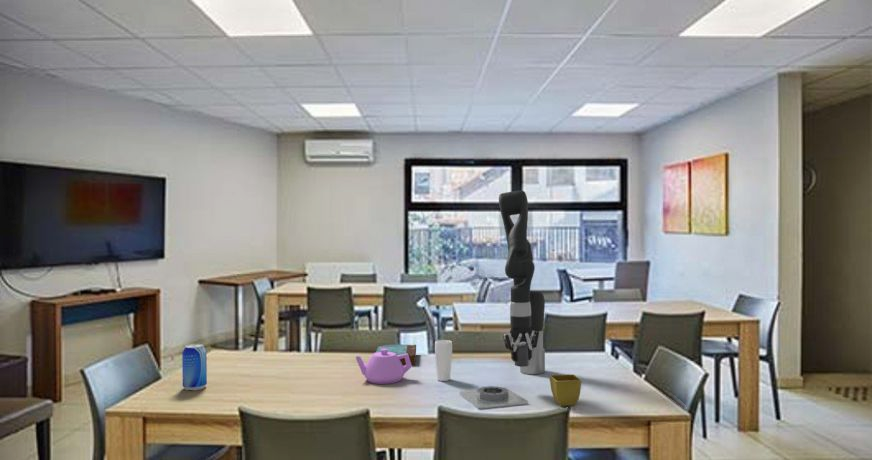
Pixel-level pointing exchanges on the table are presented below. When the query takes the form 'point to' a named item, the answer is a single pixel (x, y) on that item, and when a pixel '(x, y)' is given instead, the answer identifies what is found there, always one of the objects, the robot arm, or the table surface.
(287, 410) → the table surface
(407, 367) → the teapot
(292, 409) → the table surface
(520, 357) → the cap
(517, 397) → the square base plate
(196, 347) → the beer can
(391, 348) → the book
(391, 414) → the table surface
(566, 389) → the flower pot
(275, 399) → the table surface
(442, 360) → the drinking glass
